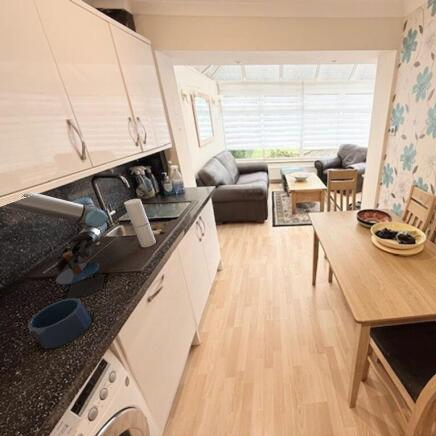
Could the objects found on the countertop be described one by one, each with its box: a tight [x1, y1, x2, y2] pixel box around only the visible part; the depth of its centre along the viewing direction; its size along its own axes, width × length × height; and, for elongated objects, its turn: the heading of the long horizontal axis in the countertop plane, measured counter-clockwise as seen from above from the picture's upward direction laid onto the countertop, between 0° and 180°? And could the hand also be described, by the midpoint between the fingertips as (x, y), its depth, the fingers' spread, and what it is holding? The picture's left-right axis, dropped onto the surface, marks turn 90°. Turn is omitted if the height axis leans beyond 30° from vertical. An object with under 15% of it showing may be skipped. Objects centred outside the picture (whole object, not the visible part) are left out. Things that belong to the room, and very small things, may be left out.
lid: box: [55, 251, 100, 286], centre depth 93 cm, size 14×14×10 cm
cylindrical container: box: [123, 198, 157, 248], centre depth 122 cm, size 7×7×25 cm
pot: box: [26, 298, 92, 349], centre depth 77 cm, size 13×13×8 cm
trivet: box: [65, 273, 106, 299], centre depth 98 cm, size 12×12×1 cm
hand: (64, 267), depth 87 cm, fingers closed on lid, 3 cm apart
